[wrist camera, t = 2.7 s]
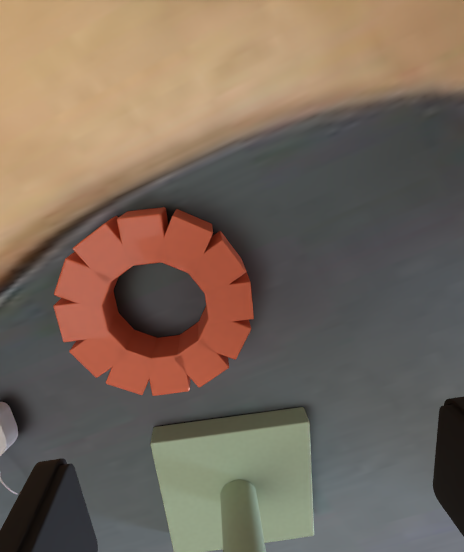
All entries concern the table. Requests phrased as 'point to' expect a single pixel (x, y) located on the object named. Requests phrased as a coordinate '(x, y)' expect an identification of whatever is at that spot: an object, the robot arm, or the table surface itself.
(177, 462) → the post
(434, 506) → the table surface
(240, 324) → the ring
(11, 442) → the white power plug
